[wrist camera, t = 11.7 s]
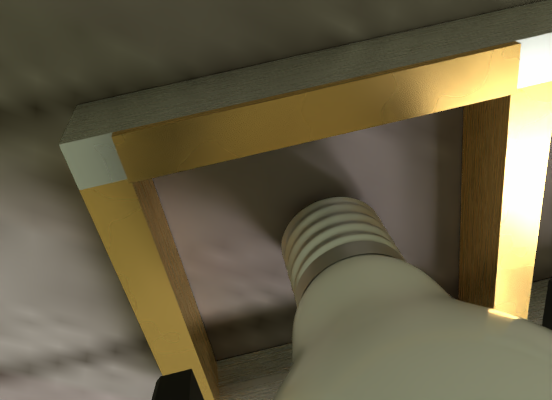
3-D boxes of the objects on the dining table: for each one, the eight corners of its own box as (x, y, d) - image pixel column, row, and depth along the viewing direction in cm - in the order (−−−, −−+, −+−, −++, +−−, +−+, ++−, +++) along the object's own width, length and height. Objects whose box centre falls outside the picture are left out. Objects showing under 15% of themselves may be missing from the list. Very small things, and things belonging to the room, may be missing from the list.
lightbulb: (172, 286, 14) (164, 1052, 5) (269, 76, 12) (647, 863, 2) (366, 332, 16) (614, 920, 7) (483, 165, 14) (1122, 747, 4)
